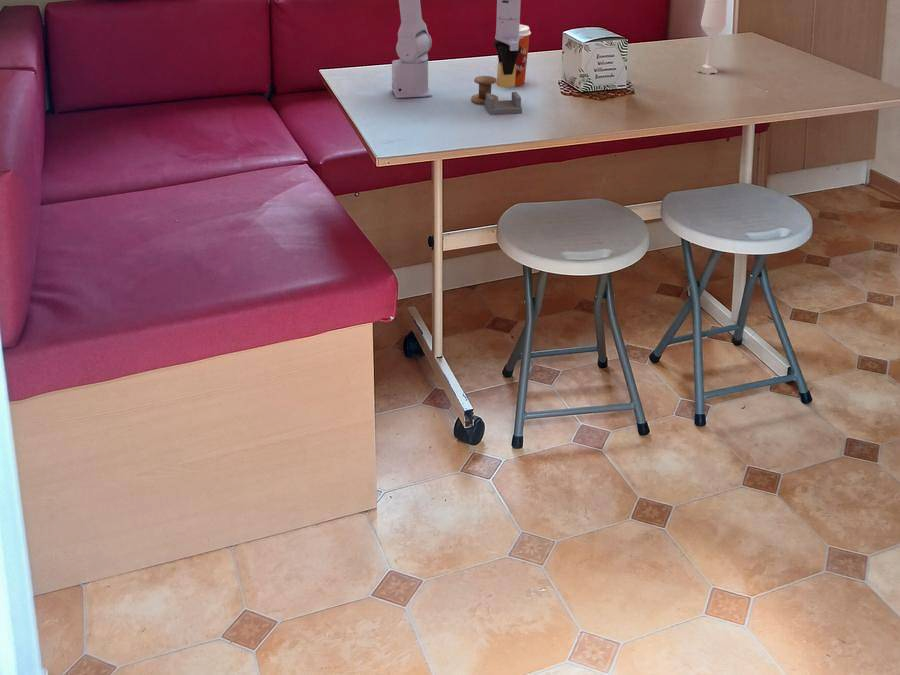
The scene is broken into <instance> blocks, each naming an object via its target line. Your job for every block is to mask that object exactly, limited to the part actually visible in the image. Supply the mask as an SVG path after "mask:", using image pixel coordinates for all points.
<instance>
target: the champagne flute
mask: <svg viewBox="0 0 900 675" xmlns="http://www.w3.org/2000/svg"><path fill="white" fill-rule="evenodd" d="M727 1H728V0H705V2H704V6H703V7H704V8H703V12H702V16H701V21H700V27H701V28H702V31H703V32H704V33H705V35H707V36H708V43H707V44H708V45H707V50H706V59H705V64H703V65H702V66H703V67H705V68H711V67H712V66H713V65H711V58H712V50H713V45H714V44H713V43H714V37H716V36H718V35H719V34H720V33H721V32H722V31H723V30H724V29H725V27H726V25H727V24H726V22H727V4H728V3H727Z"/></svg>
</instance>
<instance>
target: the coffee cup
mask: <svg viewBox="0 0 900 675" xmlns="http://www.w3.org/2000/svg"><path fill="white" fill-rule="evenodd" d="M519 34H523V35H524V38H521V39H519V42H518V43H519V46H520V47H521V52H520V53H519V55H518V57H517V59H516V62H515V64H516V77H515V87H520V86H524V85H525V80H526V73H527V62H528V56H529V54H528V53H529V46H530V45H529V43H530V35H531V34H532V32H531V31H530V27H529V25H525V24H521V23H520V26H519Z"/></svg>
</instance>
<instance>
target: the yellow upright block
mask: <svg viewBox="0 0 900 675" xmlns="http://www.w3.org/2000/svg"><path fill="white" fill-rule="evenodd" d="M496 73H497V74H496V85H497V86H498V87H499V88H511V87H512V88H514V87H516V86H515V77H516V64H515V66H514V70H513V73H512V74H511V75H504V73H503V67H502V62H499V61H497V72H496Z"/></svg>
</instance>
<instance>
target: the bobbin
mask: <svg viewBox="0 0 900 675" xmlns="http://www.w3.org/2000/svg"><path fill="white" fill-rule="evenodd" d="M473 82H474V83H475V84H478V93H476V94H473V95H471V97H470V98H471V99H470V102H472V103H473V104H476V105H481V106H482V105H484V106H485V101H486V93H491V94H492V96H493V97H494V98H495V101H499V96H498V95H496V94H493V93H492V85H493V84H497V77H493V76H491V75H481V76H480V75H479V76H476V77H474V80H473Z"/></svg>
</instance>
